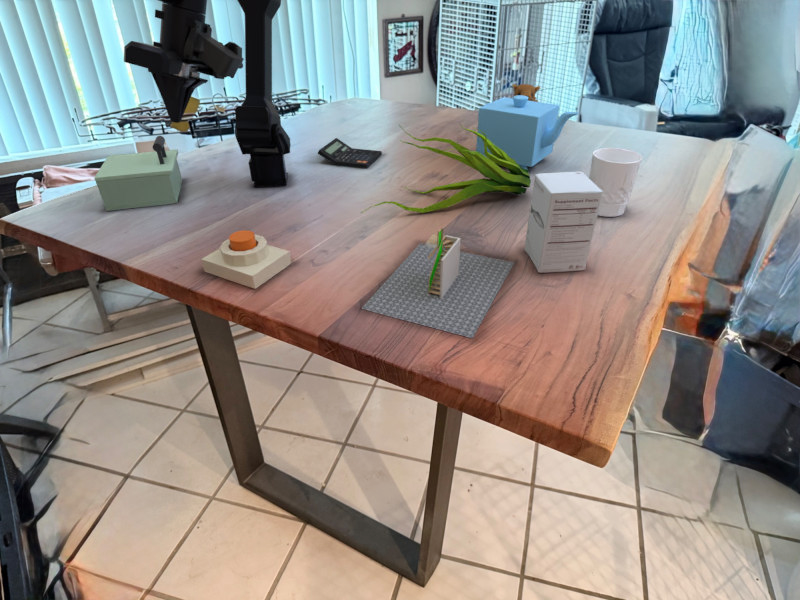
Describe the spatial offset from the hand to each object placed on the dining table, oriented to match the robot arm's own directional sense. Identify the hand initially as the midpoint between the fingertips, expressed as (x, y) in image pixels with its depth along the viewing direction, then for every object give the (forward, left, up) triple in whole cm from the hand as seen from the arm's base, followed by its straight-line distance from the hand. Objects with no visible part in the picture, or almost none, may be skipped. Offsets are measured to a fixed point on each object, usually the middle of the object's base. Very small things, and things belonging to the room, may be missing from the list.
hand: (175, 122), depth 78 cm
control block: (-9, +15, -18) cm, 25 cm away
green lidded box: (+14, -17, -18) cm, 28 cm away
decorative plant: (-44, -2, -18) cm, 48 cm away
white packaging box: (-55, +20, -18) cm, 62 cm away
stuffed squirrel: (-69, -39, -18) cm, 82 cm away
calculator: (-27, -31, -18) cm, 45 cm away
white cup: (-71, +4, -18) cm, 74 cm away
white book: (-37, +24, -18) cm, 48 cm away
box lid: (+13, -17, -12) cm, 25 cm away
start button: (-9, +15, -14) cm, 23 cm away
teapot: (-64, -22, -18) cm, 70 cm away
